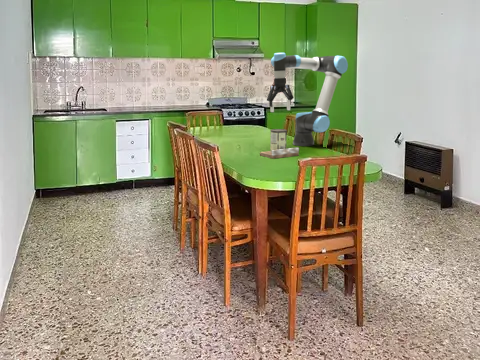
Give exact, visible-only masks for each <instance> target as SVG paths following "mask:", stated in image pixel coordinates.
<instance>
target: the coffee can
mask: <svg viewBox="0 0 480 360" xmlns="http://www.w3.org/2000/svg"><path fill="white" fill-rule="evenodd" d="M287 132H288V130H287V129H285V128H273V129H270V150H269V151H270V152H271V153H272V150H280V149H287V136H288V135H287V134H288V133H287Z"/></svg>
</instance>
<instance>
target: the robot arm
mask: <svg viewBox="0 0 480 360" xmlns="http://www.w3.org/2000/svg"><path fill="white" fill-rule="evenodd" d="M270 63H271V64H270V65H271V66H272V67H273V77H274V79H273V84H274V85H271V86H270V90H269V92H268V95H267V97H266V102H268V103H269V107H270V109H269V111H270V113H275V108H274V107H275V106H274V105H275V102H274V100H275V99H276V96H277V95H278V94H279V93H280V94H281V93H283V95H284V96H285V98H286V99H287V100H286V110H287V111H291V105H292V100H293V99H294V95H293V93H292V92H293V91H292V90H291V86H290V84H287V81H286V80H287V78H286V77H287V73H286V72H287V71H286V69H301V70H302V69H303V70H311V71H312V72H313V71H314V72H320V73H324V74H325V77H324V80H323V85H322V87H321V90H320V94H319V96H318V100H317V103H316V106H315V109H312V110H311V111H309V112H308V111H305V112H304V111H303V112H298V113H296V114H295V133H294V134H295V135H294V137H293V139H292V140H293V141H292V145H293V146H297V147H299V146H300V147H310V146H314V145H315V140H314V137H313V136H314V135H313V132H314V133H324V132H326V131H327V130H329V127H330V125H331V121H330V117H329V113H328V111H329V108H330V105H331V103H332V99H333V97H334V93H335V90H336V87H337V85H338V80H339V79H341V78H342V75H343V74H344V73H346V72H347V71H348V67H349V63H348V60H347V58H346V57H345V56H344V55H343V56H342V55H325V56H313V57H301V56H300V55H297V54H294V55H293V54H292V55H286V53H285V52H275V53H273V57H272V58H271V60H270Z"/></svg>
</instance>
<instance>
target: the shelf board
mask: <svg viewBox="0 0 480 360" xmlns="http://www.w3.org/2000/svg"><path fill="white" fill-rule="evenodd" d="M270 151H271V150H267V151H260V152H259V156H261V157H264V158H265V157H266V158H268V159H269V158H270V159H281V158H288V157H298V156H300V155H299V154H300V148H299V146H297V147H291V148H290V147H289V148H286V149H280V150H272V153H271V152H270Z"/></svg>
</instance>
